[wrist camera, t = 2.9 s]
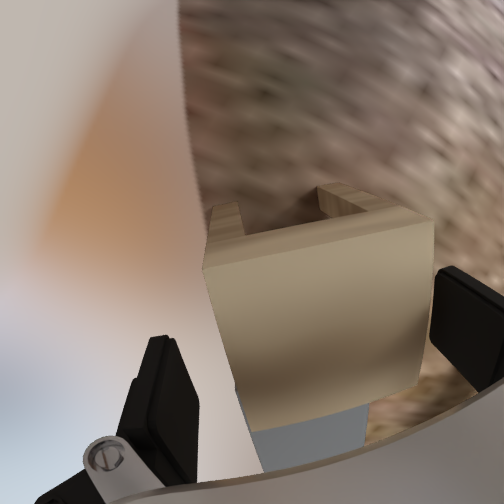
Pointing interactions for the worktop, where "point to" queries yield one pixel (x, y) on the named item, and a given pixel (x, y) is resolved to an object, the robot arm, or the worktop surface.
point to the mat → (309, 438)
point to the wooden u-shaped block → (321, 305)
